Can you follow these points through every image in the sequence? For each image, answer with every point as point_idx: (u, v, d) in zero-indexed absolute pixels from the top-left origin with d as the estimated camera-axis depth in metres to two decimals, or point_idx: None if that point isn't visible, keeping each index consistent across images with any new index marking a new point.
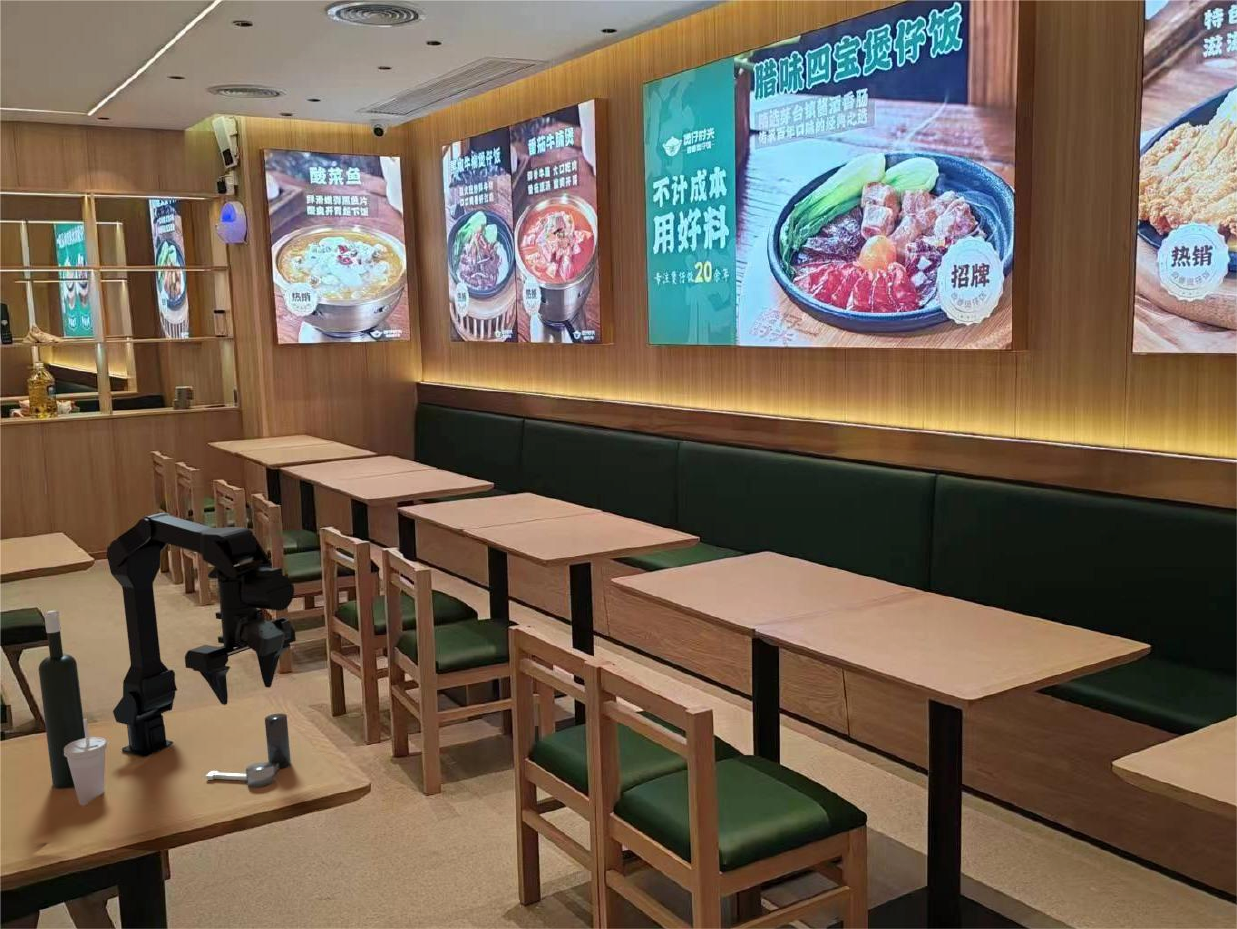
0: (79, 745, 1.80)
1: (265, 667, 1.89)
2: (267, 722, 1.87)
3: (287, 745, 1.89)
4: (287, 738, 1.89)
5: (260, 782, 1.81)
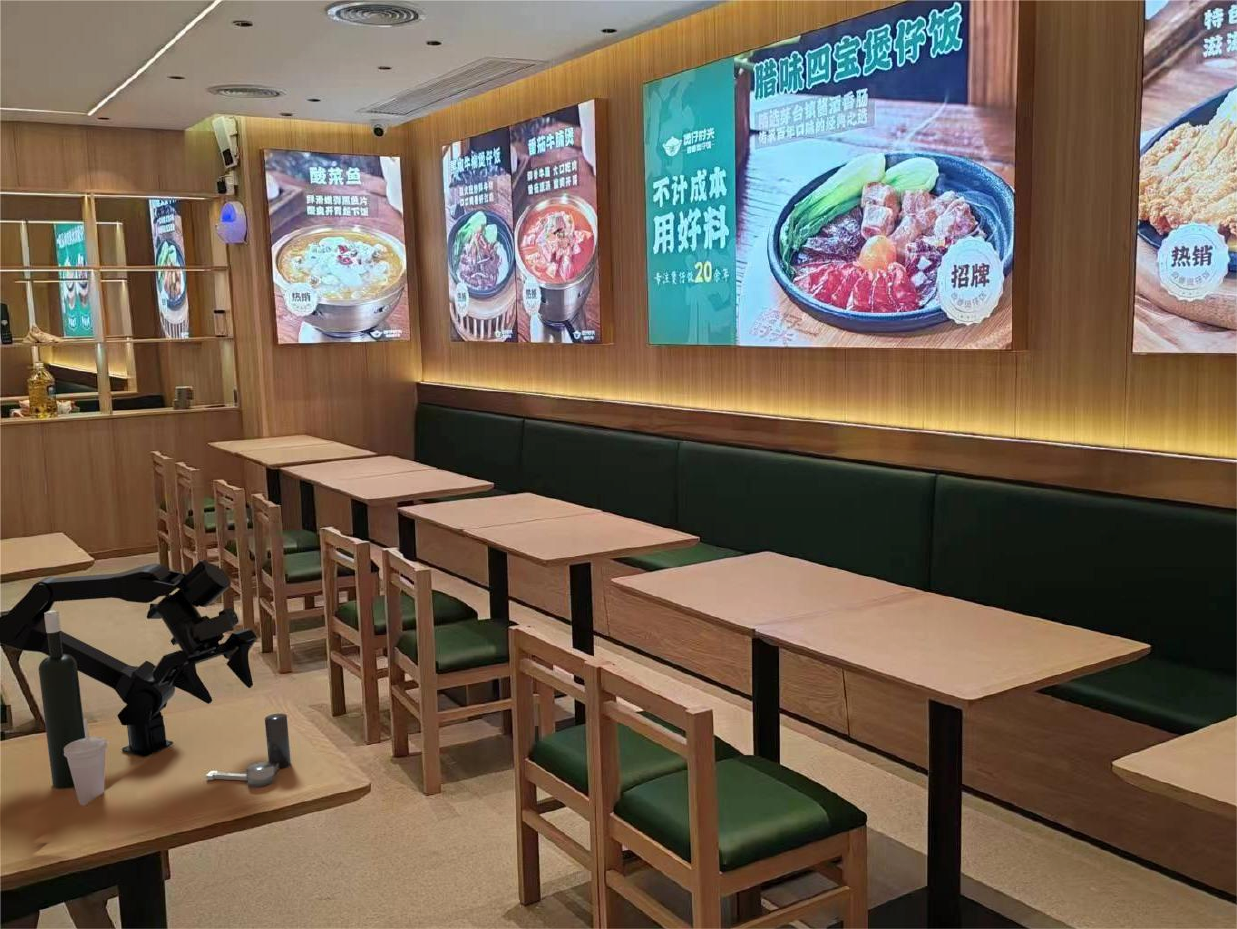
0: (79, 745, 1.80)
1: (240, 671, 1.98)
2: (267, 722, 1.87)
3: (287, 745, 1.89)
4: (287, 738, 1.89)
5: (260, 782, 1.81)
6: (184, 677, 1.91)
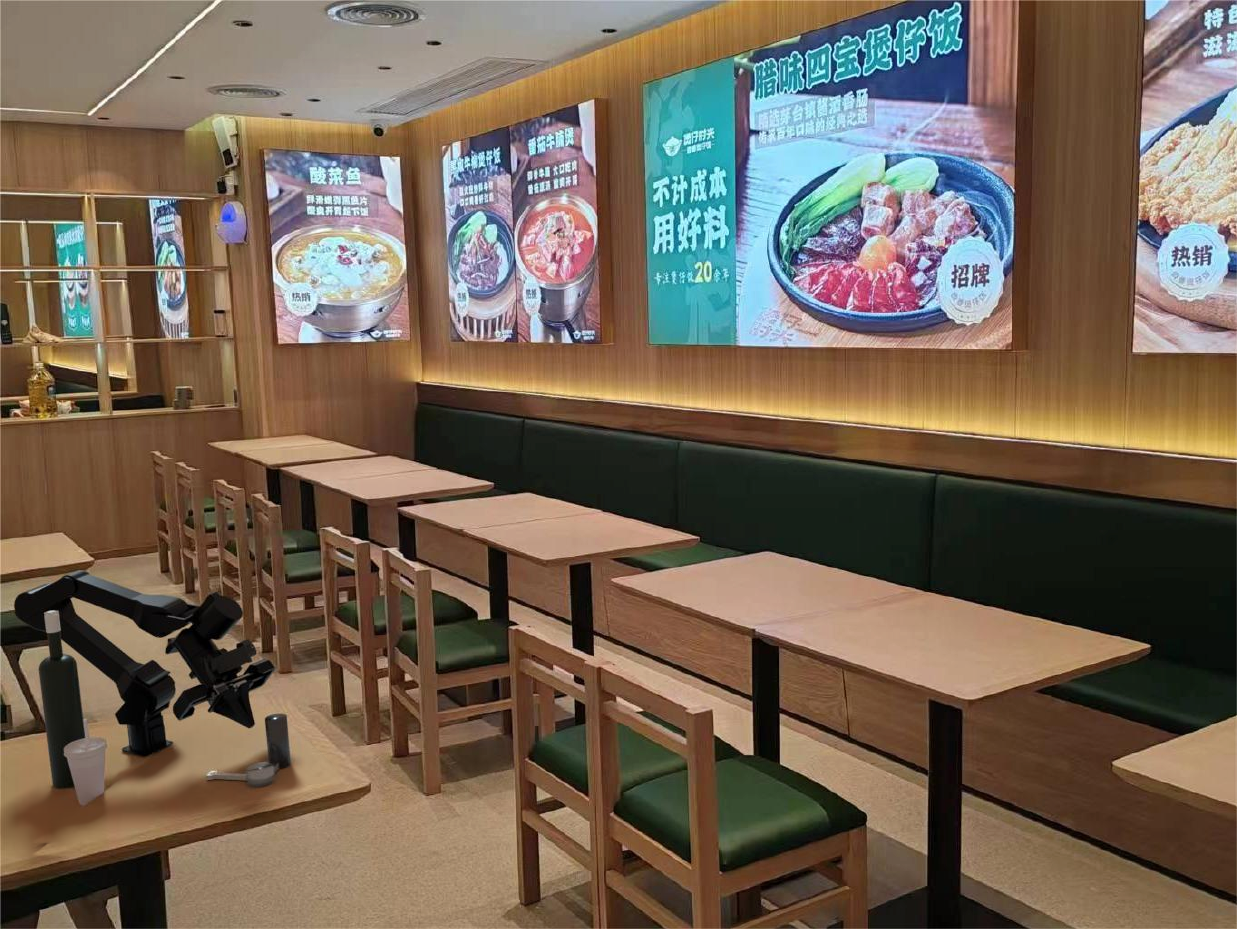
0: (79, 745, 1.80)
1: None
2: (267, 722, 1.87)
3: (287, 745, 1.89)
4: (287, 738, 1.89)
5: (260, 782, 1.81)
6: (224, 703, 1.93)
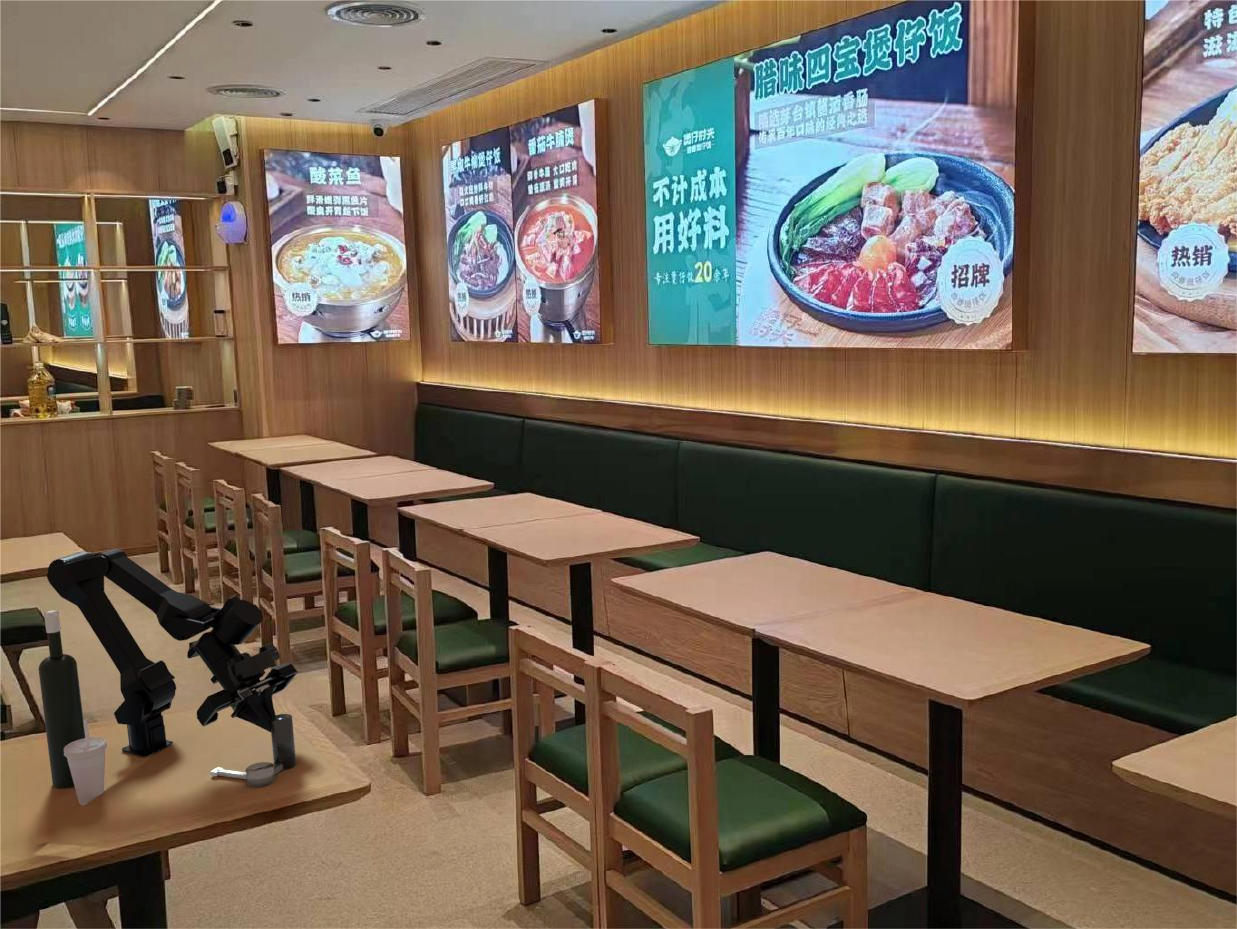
0: (79, 745, 1.80)
1: None
2: (271, 722, 1.87)
3: (291, 746, 1.88)
4: (291, 739, 1.88)
5: (258, 782, 1.81)
6: (247, 708, 1.91)
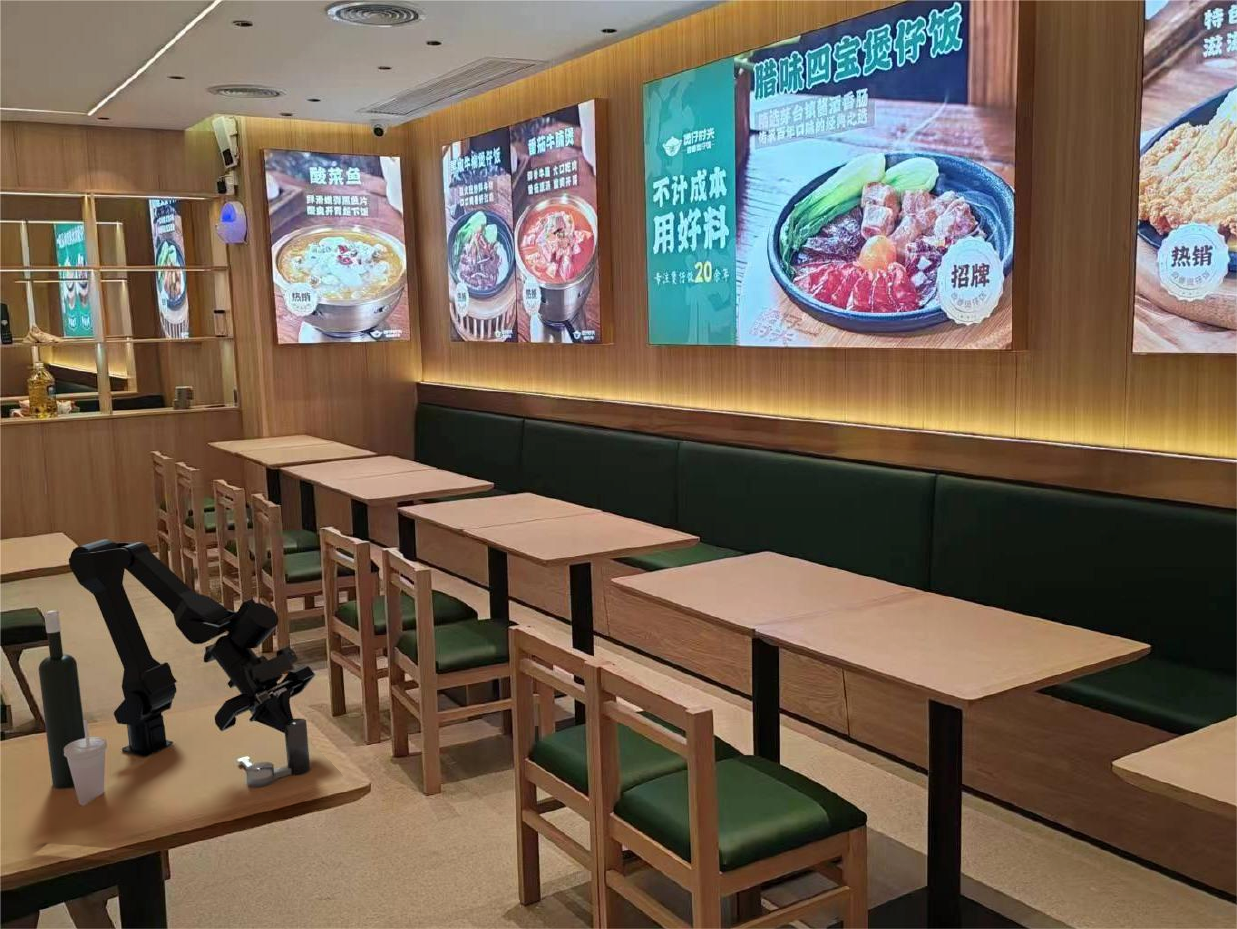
0: (79, 745, 1.80)
1: None
2: (284, 725, 1.86)
3: (300, 753, 1.85)
4: (301, 746, 1.85)
5: (251, 782, 1.82)
6: (266, 712, 1.89)
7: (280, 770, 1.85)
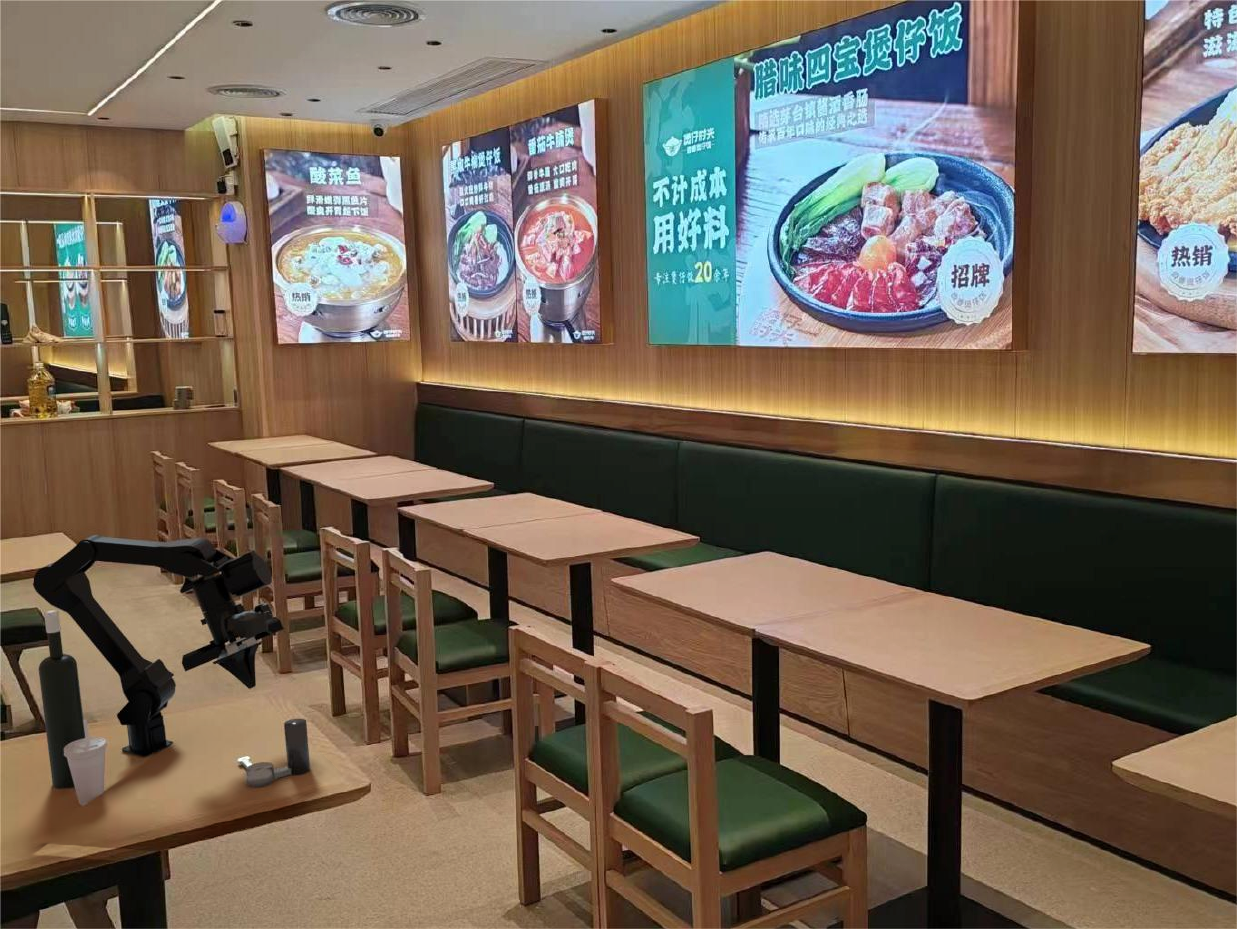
0: (79, 745, 1.80)
1: None
2: (284, 725, 1.86)
3: (300, 753, 1.85)
4: (301, 746, 1.85)
5: (250, 782, 1.82)
6: (230, 659, 1.96)
7: (280, 770, 1.85)
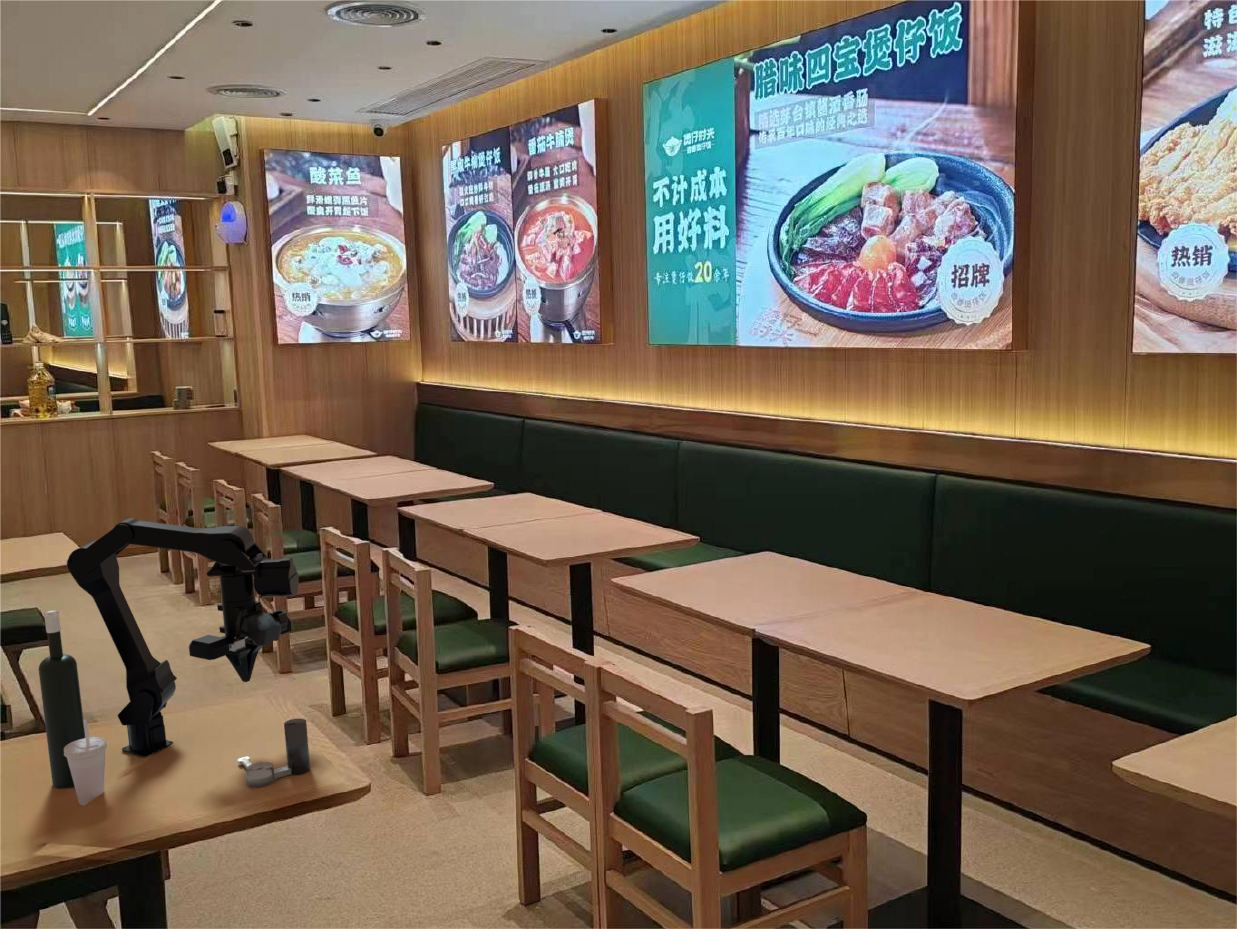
0: (79, 745, 1.80)
1: None
2: (284, 725, 1.86)
3: (300, 753, 1.85)
4: (301, 746, 1.85)
5: (250, 782, 1.82)
6: None
7: (280, 770, 1.85)
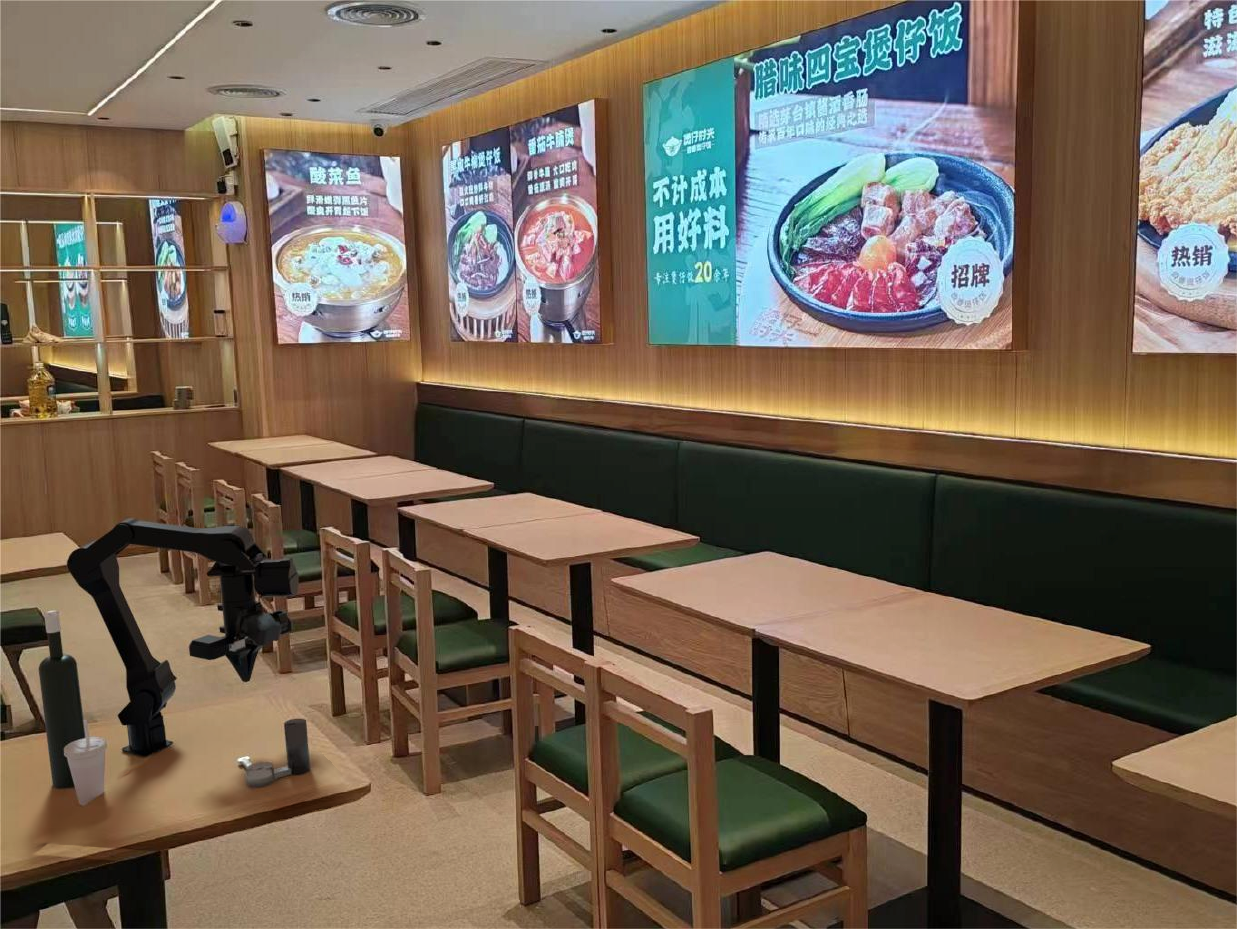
0: (79, 745, 1.80)
1: None
2: (284, 725, 1.86)
3: (300, 753, 1.85)
4: (301, 746, 1.85)
5: (250, 782, 1.82)
6: None
7: (280, 770, 1.85)
